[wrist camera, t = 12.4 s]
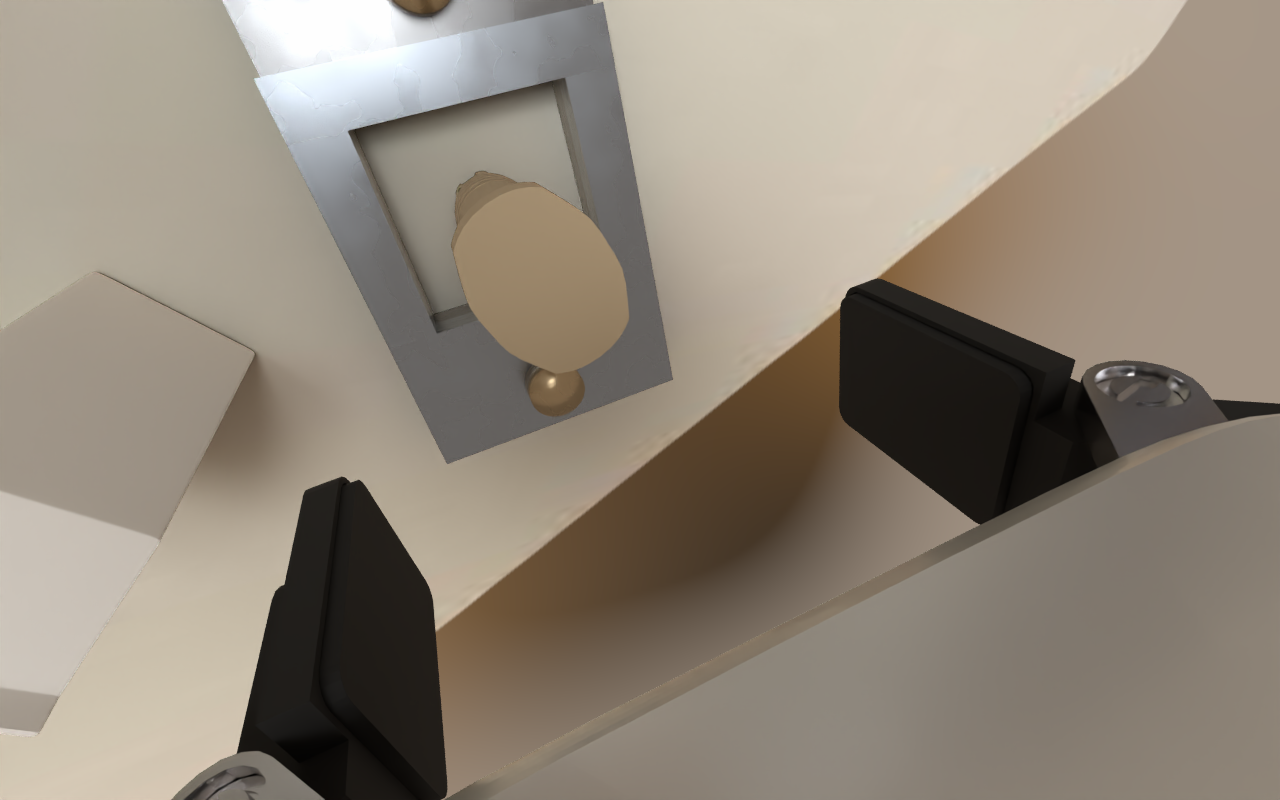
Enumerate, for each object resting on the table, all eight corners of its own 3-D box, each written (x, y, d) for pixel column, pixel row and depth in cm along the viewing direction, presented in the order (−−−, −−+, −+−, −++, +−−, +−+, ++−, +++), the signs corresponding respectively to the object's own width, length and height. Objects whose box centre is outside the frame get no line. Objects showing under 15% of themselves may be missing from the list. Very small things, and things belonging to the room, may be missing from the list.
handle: (483, 119, 28) (551, 154, 16) (555, 224, 32) (654, 316, 20) (406, 176, 28) (419, 253, 16) (487, 275, 32) (546, 396, 20)
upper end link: (267, 78, 25) (244, 78, 21) (584, 8, 28) (614, -2, 24) (443, 437, 36) (449, 479, 32) (655, 360, 39) (683, 390, 35)
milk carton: (95, 268, 26) (-357, 554, 10) (257, 350, 30) (108, 644, 14) (16, 383, 27) (-502, 799, 11) (184, 447, 31) (-29, 820, 15)
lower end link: (188, -82, 22) (161, -103, 19) (554, -141, 25) (573, -166, 22) (408, 365, 33) (409, 389, 30) (640, 288, 36) (659, 303, 33)
